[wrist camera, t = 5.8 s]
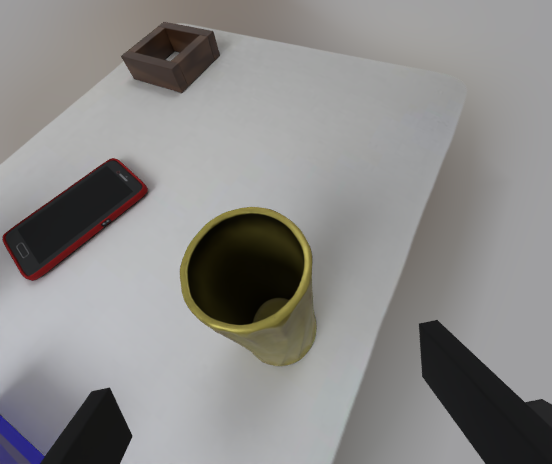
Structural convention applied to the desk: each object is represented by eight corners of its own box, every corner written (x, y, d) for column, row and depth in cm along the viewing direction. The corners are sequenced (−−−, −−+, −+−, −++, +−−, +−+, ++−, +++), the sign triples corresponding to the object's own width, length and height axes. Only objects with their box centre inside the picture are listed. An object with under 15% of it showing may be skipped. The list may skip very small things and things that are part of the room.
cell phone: (7, 240, 30) (-2, 236, 29) (118, 160, 34) (113, 155, 34) (33, 285, 27) (24, 282, 26) (152, 191, 31) (147, 186, 30)
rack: (173, 44, 47) (163, 21, 44) (220, 55, 44) (213, 31, 41) (134, 79, 43) (120, 56, 40) (182, 93, 40) (171, 69, 37)
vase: (234, 353, 22) (139, 320, 10) (256, 283, 25) (204, 187, 12) (307, 376, 21) (304, 371, 8) (322, 299, 24) (338, 210, 11)
